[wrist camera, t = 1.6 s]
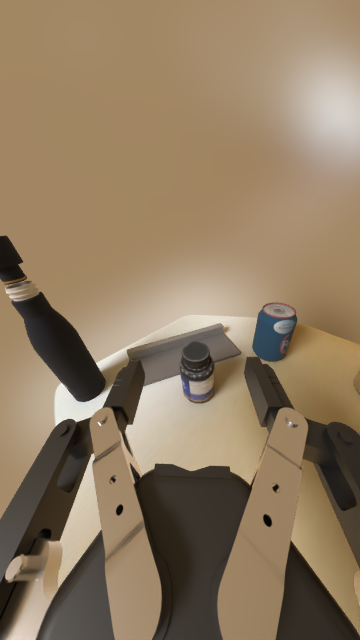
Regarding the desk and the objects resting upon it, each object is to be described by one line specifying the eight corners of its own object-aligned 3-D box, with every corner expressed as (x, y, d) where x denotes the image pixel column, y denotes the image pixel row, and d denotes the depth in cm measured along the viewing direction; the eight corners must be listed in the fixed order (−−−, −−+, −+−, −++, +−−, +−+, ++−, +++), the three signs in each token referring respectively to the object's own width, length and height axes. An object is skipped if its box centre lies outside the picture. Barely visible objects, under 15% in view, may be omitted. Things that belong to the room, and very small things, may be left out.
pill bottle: (183, 377, 35) (177, 339, 29) (211, 375, 35) (211, 336, 29) (183, 405, 30) (176, 366, 24) (216, 404, 30) (217, 363, 24)
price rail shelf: (220, 331, 47) (220, 322, 45) (240, 354, 39) (241, 345, 37) (130, 357, 42) (127, 349, 41) (132, 389, 34) (128, 381, 32)
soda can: (285, 367, 35) (303, 321, 28) (250, 360, 37) (259, 316, 31) (282, 345, 40) (296, 302, 33) (252, 340, 42) (259, 299, 36)
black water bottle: (109, 374, 38) (31, 232, 22) (98, 400, 33) (-16, 238, 16) (83, 376, 39) (-13, 238, 22) (68, 403, 33) (-74, 246, 17)
